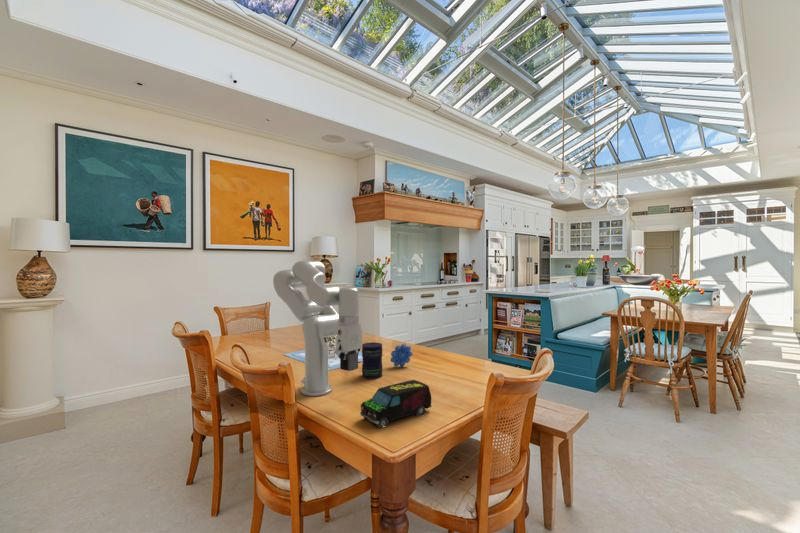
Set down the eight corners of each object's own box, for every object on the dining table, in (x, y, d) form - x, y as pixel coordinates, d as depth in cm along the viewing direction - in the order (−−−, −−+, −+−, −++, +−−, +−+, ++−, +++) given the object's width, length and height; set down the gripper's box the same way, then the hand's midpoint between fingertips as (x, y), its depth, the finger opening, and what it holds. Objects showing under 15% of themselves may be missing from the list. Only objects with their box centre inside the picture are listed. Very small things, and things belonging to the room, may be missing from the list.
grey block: (340, 369, 135) (340, 353, 135) (348, 366, 138) (348, 350, 138) (349, 371, 132) (349, 355, 132) (358, 368, 136) (358, 352, 136)
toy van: (358, 419, 122) (358, 390, 122) (414, 402, 137) (414, 376, 137) (375, 431, 114) (375, 400, 114) (433, 411, 129) (433, 384, 129)
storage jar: (380, 379, 164) (380, 347, 164) (359, 378, 166) (359, 346, 166) (384, 373, 174) (384, 342, 174) (364, 372, 175) (364, 342, 175)
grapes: (410, 363, 190) (410, 341, 190) (413, 367, 183) (413, 344, 183) (389, 365, 188) (389, 342, 188) (391, 368, 181) (391, 345, 181)
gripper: (339, 324, 126) (340, 375, 126) (370, 318, 140) (371, 364, 140) (325, 322, 131) (325, 371, 131) (356, 316, 144) (356, 361, 144)
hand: (349, 367), depth 135 cm, fingers closed on grey block, 4 cm apart
